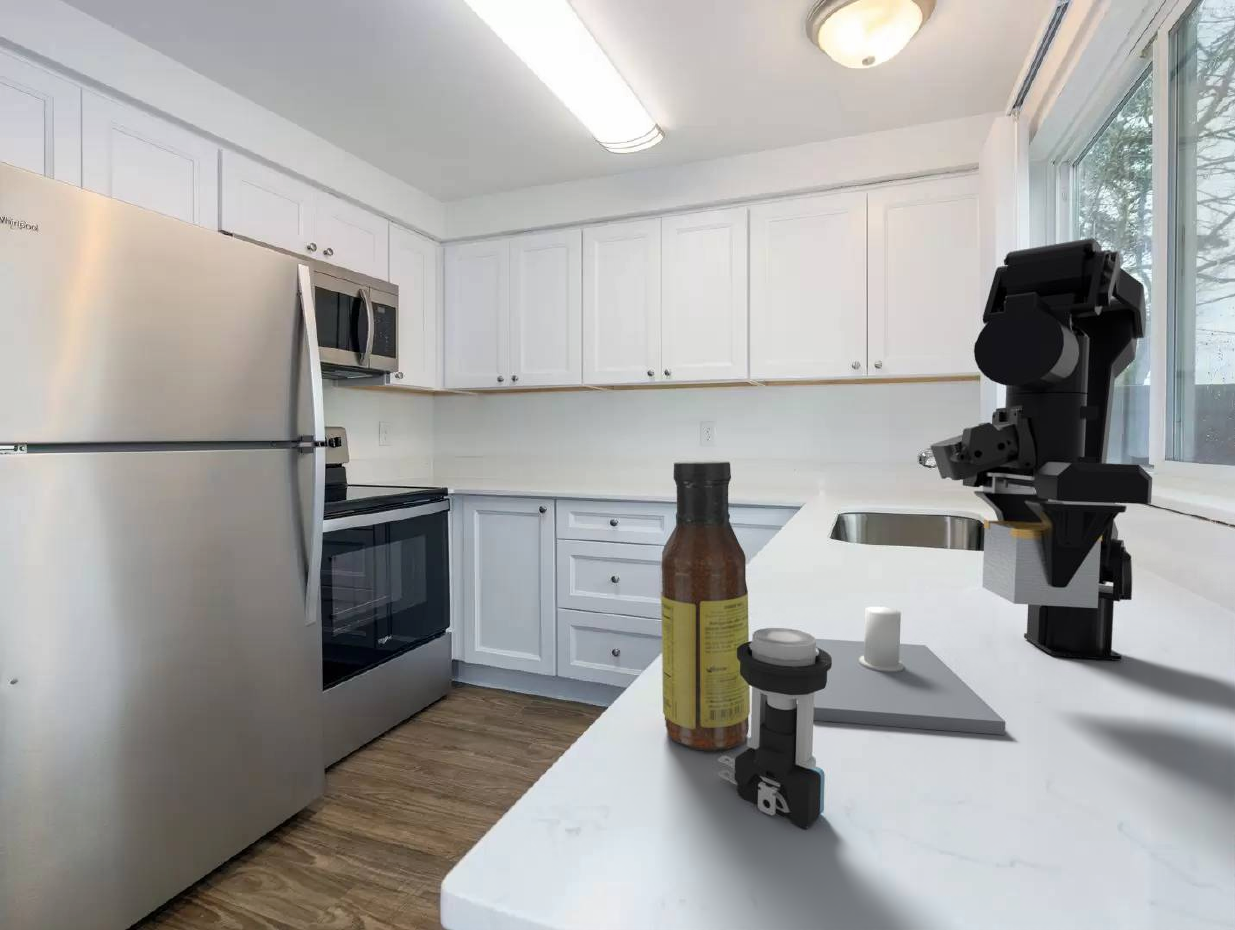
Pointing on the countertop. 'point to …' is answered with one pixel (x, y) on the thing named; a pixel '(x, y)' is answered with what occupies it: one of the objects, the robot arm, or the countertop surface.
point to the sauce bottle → (704, 614)
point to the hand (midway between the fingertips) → (1037, 578)
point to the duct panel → (897, 684)
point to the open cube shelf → (1033, 567)
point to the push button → (781, 725)
